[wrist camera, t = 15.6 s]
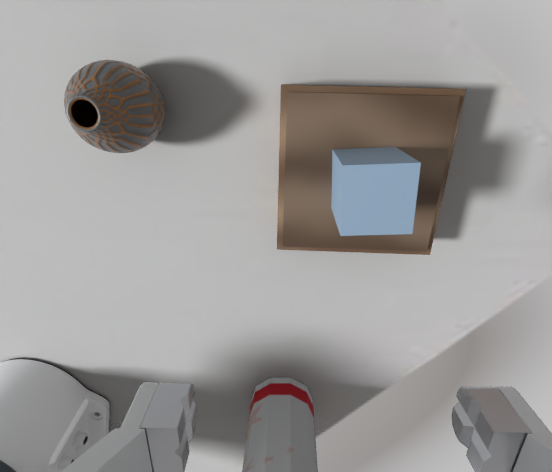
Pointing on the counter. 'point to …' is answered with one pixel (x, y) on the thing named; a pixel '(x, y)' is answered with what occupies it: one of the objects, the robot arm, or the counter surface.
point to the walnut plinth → (351, 135)
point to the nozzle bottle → (281, 428)
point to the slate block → (374, 191)
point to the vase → (114, 106)
